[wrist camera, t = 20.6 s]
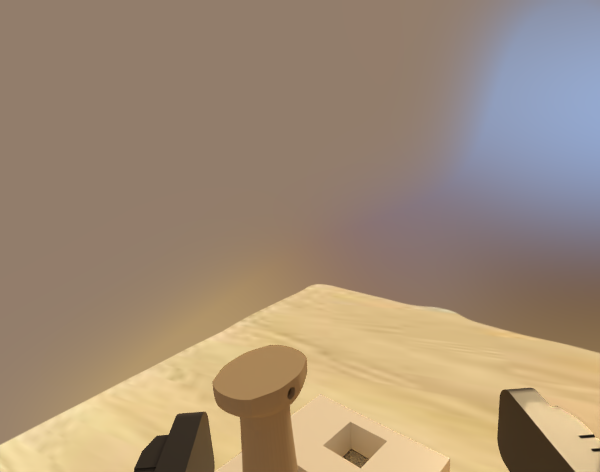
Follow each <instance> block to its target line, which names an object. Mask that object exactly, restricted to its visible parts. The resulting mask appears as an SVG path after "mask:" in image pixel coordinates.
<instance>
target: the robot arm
mask: <svg viewBox="0 0 600 472" xmlns="http://www.w3.org/2000/svg"><path fill="white" fill-rule="evenodd" d="M498 446H499V450H500V454H501V457H502V459H503V461H504V463H505V465H506V466H507V468H508V469H509V471H510V472H600V440H599V439H598V438H595V436H594V434H593V433H592V432H591V431H590V430H589V429H588V428H587V427H586V426H585V425H584V424H583V423H582V422H581V421H580V420H579V419H578V418H577V417H575V416H573V415H572V414H570V413H568V412H567V411H565V410H563V409H562V408H560V407H558V406H552V407H551V406H550V405H549V404H548V403H547V402H546V401H545V399H544V398H543V397H542V396H541V395H540V394H539V393H538V392H537V391H536V390H535V389H533V388H521V389H508V390H503V391H502V392H501V394H500V404H499V420H498ZM134 472H214V455H213V448H212V442H211V435H210V428H209V421H208V416H207V413H206V412H195V413H182V414H177V416H176V418H175V420H174V423H173V425H172V428H171V430H170V433H169V435H161V436H156V437H155V438H154V439H153V440H152V441H151V443H150V444H149V445H148V446H147V447H146V448H145V449H144V450H143V451H142V453H141V455H140V457H139V460H138V462H137V464H136V466H135V468H134Z"/></svg>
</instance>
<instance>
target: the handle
mask: <svg viewBox="0 0 600 472" xmlns="http://www.w3.org/2000/svg"><path fill="white" fill-rule="evenodd" d="M306 374H307V358H306V356H305V355H304V354H303V353H302V352H300V351H298V350H296V349H294V348H291V347H287V346H282V345H269V346H265V347H262V348H258V349H255V350H252V351H249V352H247V353H244V354H243V355H241V356H239V357H237V358H236V359H234V360H232V361H231V362H229V363H228V364H227V365H225V366H224V367H223V368H222V369H221V370H220V372H219V373H218V375H217V376H216V378H215V379H214V380H213V390H214V396H215V400H216V403H217V405H218V406H219V407H220V408H221V409H222V410H224V411H226V412H227V413H230V414H232V415H235V416H239V417H240V422H241V443H242V470H243V472H298V466H297V459H296V452H295V445H294V438H293V430H292V422H291V415H290V404H292V403H293V402H294V400H295V399H296V398H297V396H298V395H299V393H300V391H301V389H302V387H303V384H304V381H305V378H306Z"/></svg>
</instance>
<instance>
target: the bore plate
mask: <svg viewBox="0 0 600 472" xmlns="http://www.w3.org/2000/svg"><path fill="white" fill-rule="evenodd" d="M291 422H292V430H293V438H294V445H295V452H296V459H297V466H298V472H450V458H448V457H446V456H444V455H442V454H440V453H438V452H436V451H434V450H432V449H430V448H428V447H426V446H424V445H422V444H420V443H418V442H416V441H414V440H412V439H410V438H408V437H406V436H404V435H402V434H400V433H398V432H396V431H394V430H392V429H390V428H388V427H386V426H384V425H382V424H380V423H378V422H376V421H374V420H372V419H369V418H367V417H365V416H363V415H361V414H359V413H357V412H355V411H353V410H351V409H349V408H347V407H345V406H343V405H341V404H339V403H337V402H335V401H333V400H331V399H329V398H327V397H325V396H323V395H321V394H319V395H318V396H317V397H315V398H314V399H313V400H311V401H310V402H309V403H307V404H306V405H304V406H303V407H302V408H300V409H299V410H298V411H296V412H295V413H294V414H292V415H291ZM350 449H352V450H354V451H356V452H358V453H359V454H361V455H363V456H365V457H366V458H368V459H369V460H368V461H367V462H366V463H365V464H364V466H363V467H362V468H359V467H358V466H356V465H354V464H353V463H351V462H349V461H348V460H346V459H344V458H343V456H344V455H345V454H346V453H347V452H348V451H349V450H350ZM215 472H243V470H242V452H240V453H239V454H238V455H236V456H235V457H234V458H232V459H231V460H230V461H228V462H227V463H225V464H224V465H223V466H221V467H220V468H219V469H217V470H216V471H215Z"/></svg>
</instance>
